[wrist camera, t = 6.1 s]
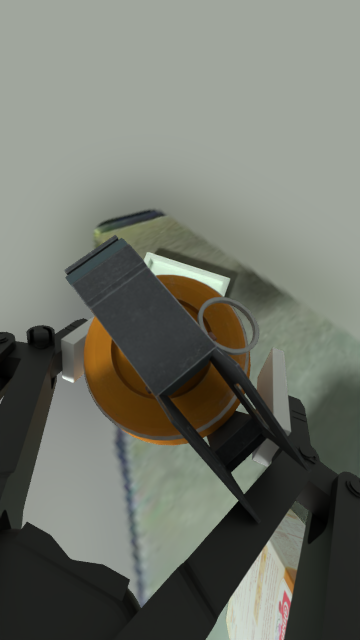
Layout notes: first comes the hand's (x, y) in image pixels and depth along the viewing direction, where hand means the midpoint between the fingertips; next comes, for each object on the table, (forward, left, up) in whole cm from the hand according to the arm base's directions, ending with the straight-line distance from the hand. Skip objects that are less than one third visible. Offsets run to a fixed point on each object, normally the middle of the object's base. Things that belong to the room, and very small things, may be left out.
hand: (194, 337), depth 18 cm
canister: (0, +3, -9) cm, 10 cm away
